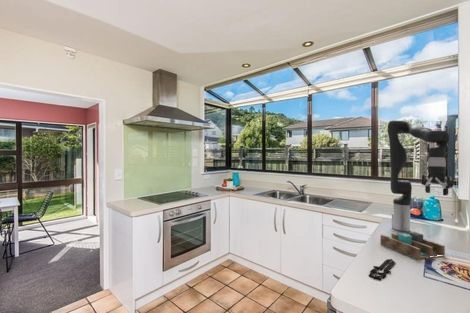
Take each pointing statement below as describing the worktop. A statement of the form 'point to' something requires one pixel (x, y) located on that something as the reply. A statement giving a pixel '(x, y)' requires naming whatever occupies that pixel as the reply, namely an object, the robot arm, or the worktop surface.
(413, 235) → the charcoal plug
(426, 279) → the worktop surface
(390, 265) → the black bumpy piece
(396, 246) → the wooden bookshelf
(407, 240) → the teal plug
